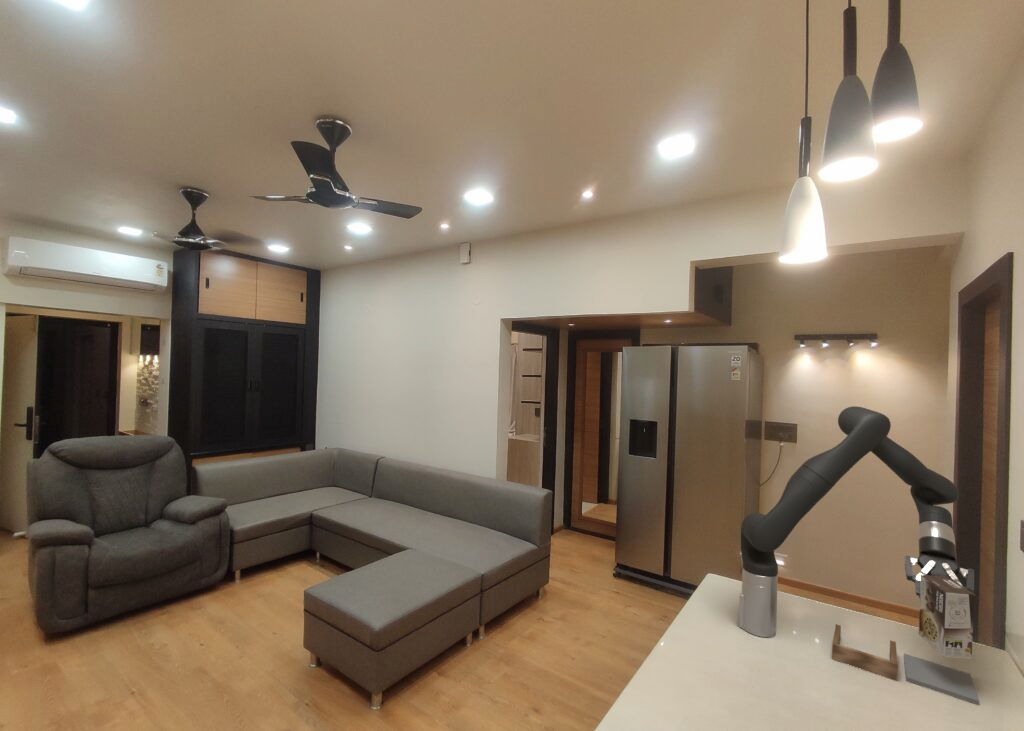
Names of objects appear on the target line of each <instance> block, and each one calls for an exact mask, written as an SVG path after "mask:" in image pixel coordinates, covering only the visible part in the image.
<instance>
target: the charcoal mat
mask: <svg viewBox="0 0 1024 731" xmlns="http://www.w3.org/2000/svg"><path fill="white" fill-rule="evenodd" d="M903 661H904V663H903V664H904V671H905V681H906V682H909V683H912V684H914V685H917V686H920V687H924V688H926V689H929V688H930V689H929V690H932V691H935V692H939V693H941V694H943V695H948V696H950V697H953V698H956V699H958V700H962V701H965V702H968V703H971V704H974V705H977V706H980V699H979V696H978V692H977V690H976V687H975V683H974V681H973V678H972V675H971V673H969V672H966V671H963V670H960V669H958V668H957V669H956V668H954V667H953V668H952V667H950V666H946V665H943V664H940V663H937V662H934V661H931V660H927V659H923V658H920V657H917V656H914V655H911V654H907V653H903Z"/></svg>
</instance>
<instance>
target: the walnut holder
mask: <svg viewBox="0 0 1024 731" xmlns="http://www.w3.org/2000/svg"><path fill="white" fill-rule="evenodd" d="M834 626H835V627H834V634H833V639H832V644H831V646H832V648H831V649H832V650H831V660H833V661H836V662H839V663H842V664H844V663H845V664H846V665H847V664H849V665H848V666H850V665H851V667H853V666H854V668H856V667H858V668H857V669H859V668H861V669H860V670H862V669H864V670H863V671H865V670H866V671H865V672H868V671H869V672H868V673H872V674H874V673H875V674H874V675H877V674H878V675H877V676H880V675H881V676H880V677H883V676H884V678H887V679H889V680H893V681H895V682H898V655H897V654H898V652H897V642H896V641H893V640H889V659H886V658H883V657H881V656H879V655H878V656H877V655H874V654H871V653H867V652H865V651H862V650H858V649H856V648H853V647H849V646H846V645H843V644H841V640H842V639H841V636H842V635H841V632H842V631H841V630H842V629H841V628H842V625H840V624H836V623H835V625H834Z"/></svg>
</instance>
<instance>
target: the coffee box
mask: <svg viewBox="0 0 1024 731" xmlns="http://www.w3.org/2000/svg"><path fill="white" fill-rule="evenodd" d="M965 587H966V586H963V584H962V585H960V584H959V583H957V582H955V581H954V580H952V579H951V578H949V577H948V576H937V575H921V582H920V598H919V618H918V619H919V620H918V625H919V626H918V635H919V636H920V637H921V638H923V640H924V641H926V642H927V643H928V644H929V645H930V646H931V647H932V648H934V649H935V650H936V651H937V653H939V654H941V656H943V657H946V658H947V657H948V658H957V659H966V660H972V656H973V640H974V639H973V638H974V637H973V636H974V618H975V598H976V594H975V593H974V592H973V593H972V592H971V591H969V590H968V589H966V588H965Z"/></svg>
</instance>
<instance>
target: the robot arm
mask: <svg viewBox="0 0 1024 731" xmlns="http://www.w3.org/2000/svg"><path fill="white" fill-rule="evenodd" d="M837 424H838V428H839V429H840V430H841V432H843V434H845V435H846V437H845V438H844V439H843V440H842V441H841V442H839V443H838V444H837V445H835V446H834V447H833V448H830V449H828V450H826V451H824V452H820V453H819V454H816V455H814V456H812V457H810V458H808V459H807V460H805V461H804V462H803V463H802V464H801V465H800V467H798V468H797V469H796V471H795V472H794V473H792V475H791V476H790V477H789V479H788V481H787V483H786V485H785V488H784V490H783V492H782V495H781V496H780V499H779V500H778V502H777V503H776V505H775V506H774V507H773V508H772V509H771V510H769V511H768V512H767V513H766V514H763V513H761V512H753V513H749V514H748V515H746V516H745V517H744V518H743V520H742V523H741V527H740V528H741V529H740V554H741V555H740V556H741V560H742V574H741V592H740V594H739V609H738V610H739V612H738V614H739V615H738V627H739V628H741V629H743V630H745V631H746V632H747V633H749V634H751V635H755V636H757V637H761V638H773V637H774V636H776V633H777V611H778V608H777V606H778V583H779V582H778V580H779V578H778V576H779V571H778V570H779V565H778V562H777V560H776V559H777V558H776V555H775V551H776V550H777V549H778V548H780V547H781V545H783V543H784V542H785V541H786V539H788V537H789V535H790V534H791V533H792V531H793V530H794V529H795V527H796V526H797V525H798V523H800V521H801V520H802V519H803V518H804V517H805V516H806V515H807V514H808V513H809V512H810V511H811V510H812V509H813V508H814V507H815V506H816V505H817V504H818V502H820V501H821V500H822V499H823V498H824V497H825V496H826V495H827V494H828V493H829V492H830V491H831V490H832V489H833V487H834V486H835V485H836V484H837V483H838V482H839V481H840V480H841V479H842V478H843V477H844V476H845V475H846V474H847V473H848V472H849V471H850V470H852V468H853V467H854V466H855V465H856V464H857V463H858V462H859V461H860V460H862V459H863V458H864V457H865V456H866V455H867V454H869V453H870V452H871V453H872V454H873V455H875V457H877V458H878V460H880V461H882V462H883V464H884V465H886V466H887V467H888V468H889V469H890V470H891V471H892V472H893V473H894V474H895V475H896V476H898V478H899V479H900V480H901V481H903V482H904V483H905V484H906V485H907V486H910V489H909V492H910V494H911V495H910V496H911V497H912V499H913V502H914V504H915V506H916V509H917V512H918V525H919V526H918V534H917V535H918V536H917V537H918V538H917V540H918V557H917V558H914V557H911V556H910V555H904V560H903V561H904V570H905V577H906V580H907V581H910V582H913V583H914V586H915V595H916V596H918V598H919V599H920V582H921V575H937V576H948V577H949V578H951V579H952V580H954V581H955V582H957V583H959V584H960V585H962V586H963V584H962V583H961V581H960V580H959V578H958V574H961V575H962V577H963V578H964V579H966V586H964V587H965V588H966V589H968V590H969V591H971V592H972V593H974V590H975V570H974V569H973V568H968V569H966V568H963V567H960V566H959V564H958V560H957V549H956V537H955V534H954V526H953V517H952V513H951V511H950V510H949V509H947V508H945V507H942V506H940V505H948V504H954V503H955V502H957V501H958V500H959V497H960V492H959V489H958V488H957V486H956V485H955V484H954V483H953V481H951V480H950V479H949V478H947V477H945V476H943V475H942V474H940V473H937V472H936V471H934V470H932V469H930V468H928V467H927V466H926V465H925V464H924V463H922V461H920V459H918V458H917V457H916V456H915V455H914V454H912V453H911V452H910V451H909V450H908V449H906V448H905V447H903V446H902V445H901V444H898V443H897V442H895V441H894V440H893V439H891V438H890V437H888V435H889V433H890V431H891V426H892V425H891V421H890V419H889V417H888V416H887V415H885V414H883V413H881V412H879V411H876V410H872V409H869V408H865V407H863V406H848V407H846V408H844V409H843V410H841V412H839V415H838V419H837ZM916 564H917V565H918V566H919V567H920V569H921V570H920V571H919V573H918V574H917V575H916V574H914V573H913V568H912V567H914V566H915V565H916Z"/></svg>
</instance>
